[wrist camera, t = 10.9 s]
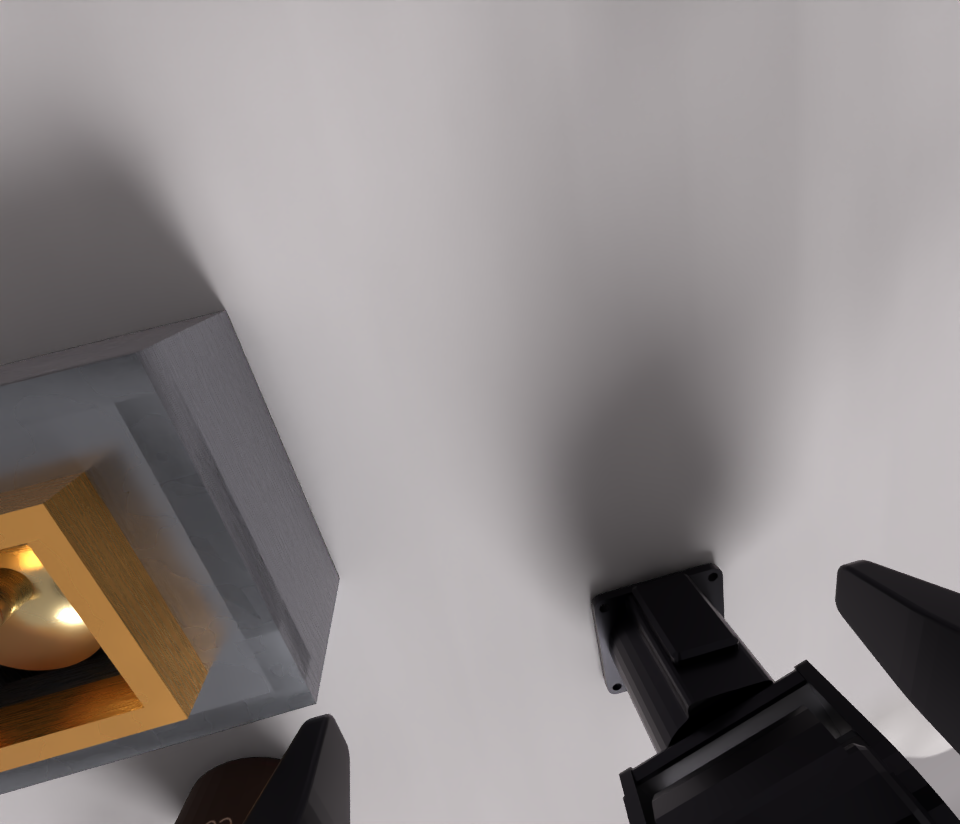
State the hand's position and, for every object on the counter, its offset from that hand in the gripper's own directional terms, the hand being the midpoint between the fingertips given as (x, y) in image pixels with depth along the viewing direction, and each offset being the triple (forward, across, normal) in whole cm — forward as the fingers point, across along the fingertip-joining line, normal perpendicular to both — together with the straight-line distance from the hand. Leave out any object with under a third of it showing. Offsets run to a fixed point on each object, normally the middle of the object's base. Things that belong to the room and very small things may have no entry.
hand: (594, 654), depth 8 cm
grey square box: (+12, +14, 0) cm, 18 cm away
